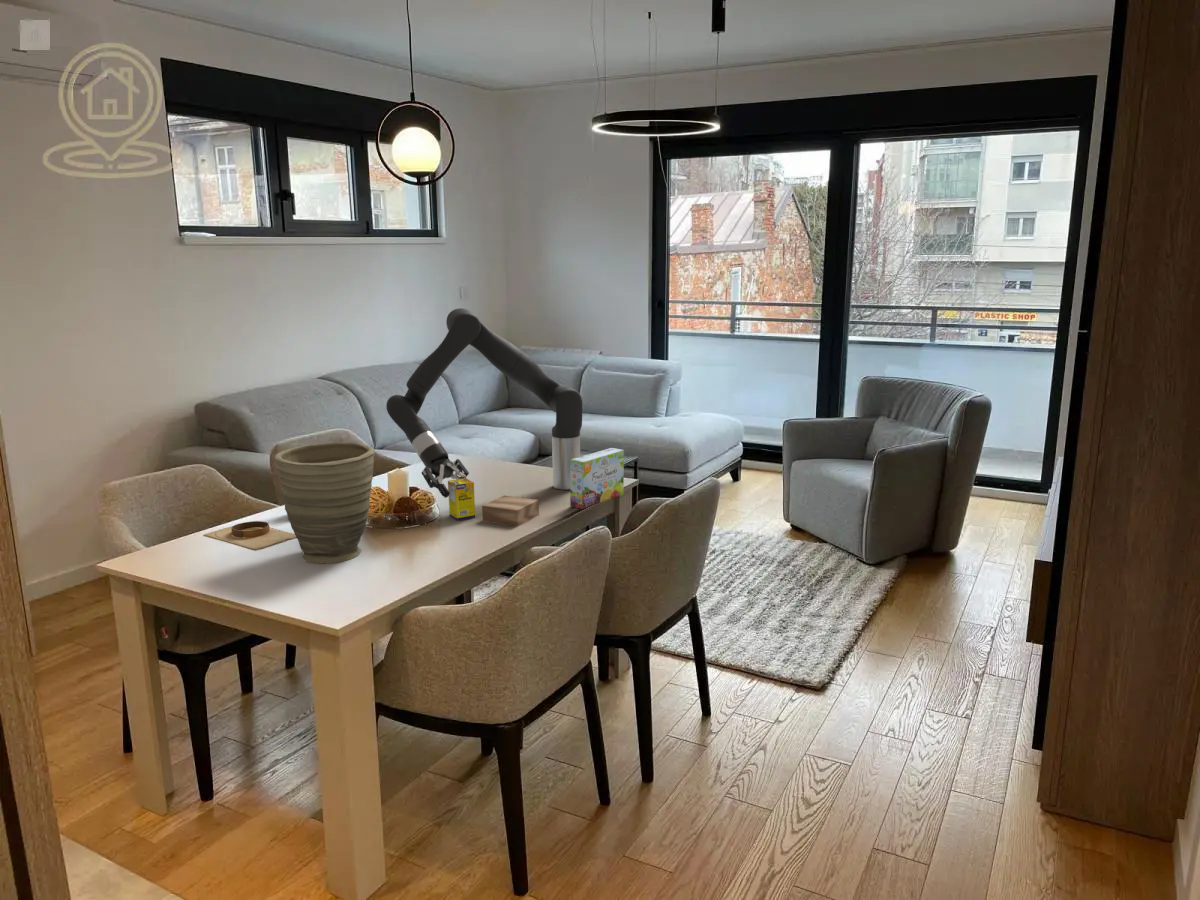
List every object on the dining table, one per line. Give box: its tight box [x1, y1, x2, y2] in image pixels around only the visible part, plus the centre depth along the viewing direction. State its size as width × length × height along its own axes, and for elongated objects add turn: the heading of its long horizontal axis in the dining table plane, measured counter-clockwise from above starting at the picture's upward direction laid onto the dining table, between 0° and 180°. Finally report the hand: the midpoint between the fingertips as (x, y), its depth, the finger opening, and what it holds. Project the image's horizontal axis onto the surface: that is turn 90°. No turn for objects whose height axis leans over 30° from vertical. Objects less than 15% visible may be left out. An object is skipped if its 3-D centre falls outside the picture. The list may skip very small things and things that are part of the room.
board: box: [202, 520, 297, 552], centre depth 244 cm, size 25×15×3 cm, turn 57°
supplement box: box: [447, 477, 476, 521], centre depth 258 cm, size 6×6×11 cm
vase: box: [274, 441, 375, 564], centre depth 224 cm, size 24×24×30 cm
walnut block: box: [481, 495, 540, 527], centre depth 257 cm, size 12×12×5 cm
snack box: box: [569, 447, 625, 510], centre depth 273 cm, size 21×6×15 cm, turn 143°
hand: (458, 492), depth 258 cm, fingers open, 8 cm apart
